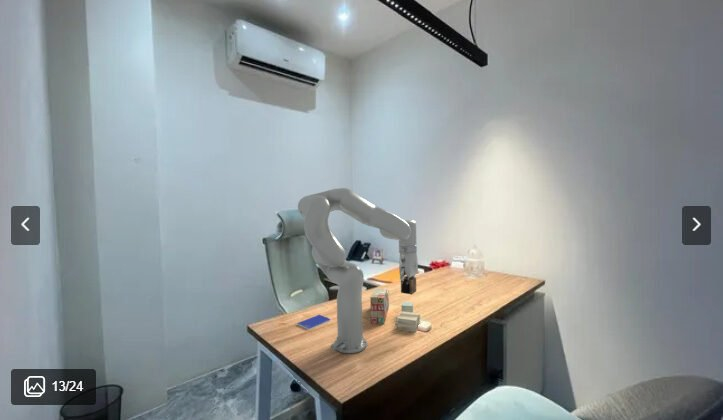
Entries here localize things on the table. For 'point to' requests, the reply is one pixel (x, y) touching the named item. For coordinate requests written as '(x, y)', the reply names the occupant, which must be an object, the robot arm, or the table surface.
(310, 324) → the hard drive
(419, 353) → the table surface
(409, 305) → the sage block
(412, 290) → the walnut block
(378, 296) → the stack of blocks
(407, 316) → the grey stepped block
